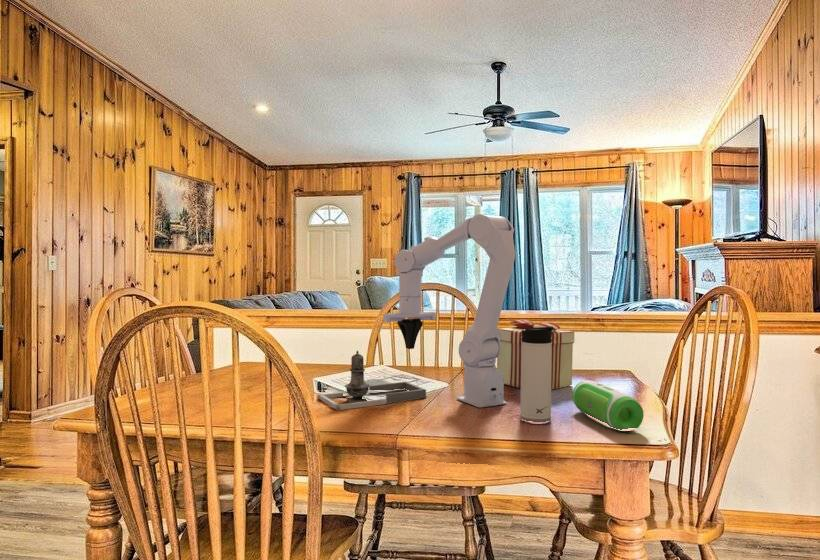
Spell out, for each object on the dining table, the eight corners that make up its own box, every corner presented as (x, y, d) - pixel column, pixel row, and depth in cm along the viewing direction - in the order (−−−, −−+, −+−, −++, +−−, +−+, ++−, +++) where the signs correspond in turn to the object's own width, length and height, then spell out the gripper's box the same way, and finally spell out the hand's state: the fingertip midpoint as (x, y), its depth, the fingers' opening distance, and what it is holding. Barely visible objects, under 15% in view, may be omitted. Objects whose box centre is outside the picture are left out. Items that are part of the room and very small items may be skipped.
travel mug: (546, 426, 116) (548, 328, 116) (515, 421, 120) (516, 326, 119) (556, 419, 122) (557, 325, 121) (526, 414, 125) (527, 323, 124)
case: (426, 397, 140) (426, 389, 140) (387, 402, 135) (387, 394, 135) (405, 389, 149) (405, 381, 149) (369, 393, 144) (369, 385, 144)
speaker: (569, 412, 128) (569, 378, 128) (599, 410, 130) (599, 377, 129) (611, 436, 111) (612, 397, 111) (645, 434, 112) (646, 396, 112)
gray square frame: (385, 403, 134) (385, 399, 134) (337, 410, 128) (337, 405, 128) (364, 393, 144) (364, 389, 144) (318, 398, 139) (318, 394, 139)
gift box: (581, 384, 156) (583, 321, 156) (539, 394, 144) (540, 326, 144) (531, 374, 169) (532, 316, 169) (489, 383, 157) (489, 320, 157)
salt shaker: (368, 403, 134) (368, 352, 134) (343, 403, 134) (343, 352, 134) (371, 397, 140) (371, 348, 140) (347, 397, 140) (347, 348, 140)
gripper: (426, 294, 157) (426, 344, 157) (378, 296, 150) (378, 348, 150) (440, 296, 151) (439, 348, 151) (390, 297, 144) (390, 352, 144)
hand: (409, 348), depth 150 cm, fingers closed
